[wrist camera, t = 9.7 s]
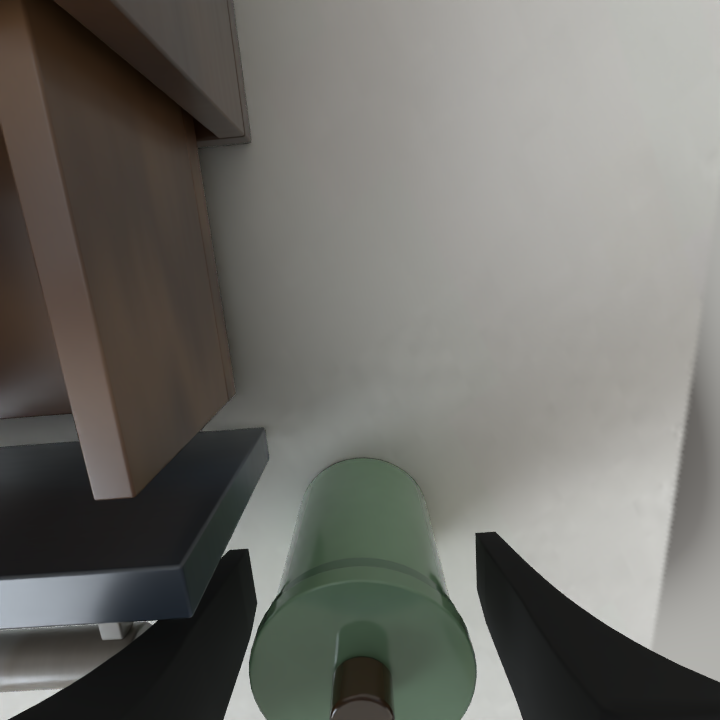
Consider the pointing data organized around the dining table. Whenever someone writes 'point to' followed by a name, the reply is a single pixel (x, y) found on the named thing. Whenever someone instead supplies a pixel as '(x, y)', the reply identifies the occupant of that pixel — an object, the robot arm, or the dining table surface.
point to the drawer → (105, 356)
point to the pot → (363, 609)
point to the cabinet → (179, 56)
